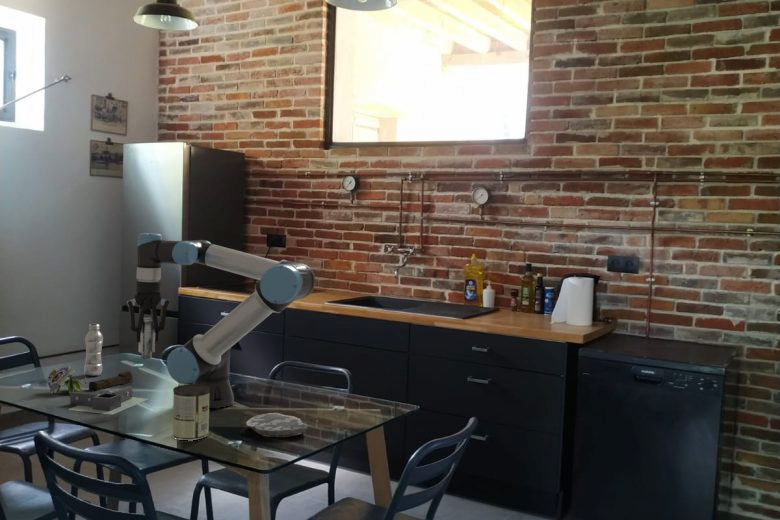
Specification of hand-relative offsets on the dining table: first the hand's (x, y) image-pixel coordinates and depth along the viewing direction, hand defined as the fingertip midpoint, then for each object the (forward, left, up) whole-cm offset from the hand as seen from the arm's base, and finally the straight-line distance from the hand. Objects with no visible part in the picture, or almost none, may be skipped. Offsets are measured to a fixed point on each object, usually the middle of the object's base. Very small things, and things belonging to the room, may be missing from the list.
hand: (146, 351), depth 235 cm
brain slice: (-49, +9, -19) cm, 54 cm away
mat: (+12, +2, -19) cm, 22 cm away
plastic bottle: (+43, -34, -19) cm, 58 cm away
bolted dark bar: (+10, -2, -18) cm, 20 cm away
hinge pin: (0, 0, -2) cm, 2 cm away
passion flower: (+35, -7, -19) cm, 40 cm away
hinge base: (+15, +6, -18) cm, 24 cm away
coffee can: (-28, +22, -19) cm, 41 cm away
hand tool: (+26, -21, -19) cm, 39 cm away
